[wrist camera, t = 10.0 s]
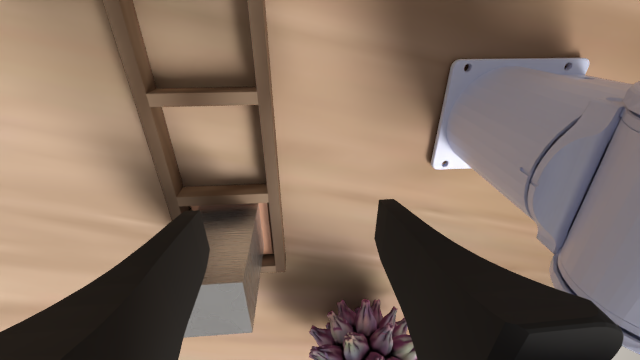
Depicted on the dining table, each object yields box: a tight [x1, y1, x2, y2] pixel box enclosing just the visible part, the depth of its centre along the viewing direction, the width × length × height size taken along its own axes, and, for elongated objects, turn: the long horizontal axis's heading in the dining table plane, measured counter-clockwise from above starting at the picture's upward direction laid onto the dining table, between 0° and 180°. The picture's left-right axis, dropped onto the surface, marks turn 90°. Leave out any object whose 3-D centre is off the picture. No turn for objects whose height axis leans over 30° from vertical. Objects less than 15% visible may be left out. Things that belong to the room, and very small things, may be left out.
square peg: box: [183, 203, 264, 338], centre depth 21 cm, size 5×5×8 cm
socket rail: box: [103, 0, 286, 273], centre depth 20 cm, size 8×23×2 cm, turn 0°
